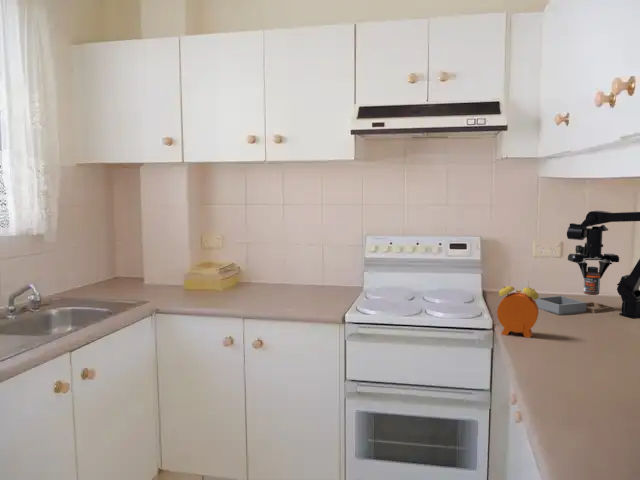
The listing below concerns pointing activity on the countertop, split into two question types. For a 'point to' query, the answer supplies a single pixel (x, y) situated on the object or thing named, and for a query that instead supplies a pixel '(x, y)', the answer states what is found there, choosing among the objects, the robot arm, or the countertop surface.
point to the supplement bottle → (592, 281)
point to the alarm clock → (518, 310)
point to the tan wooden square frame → (601, 308)
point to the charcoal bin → (561, 305)
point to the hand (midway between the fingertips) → (592, 278)
